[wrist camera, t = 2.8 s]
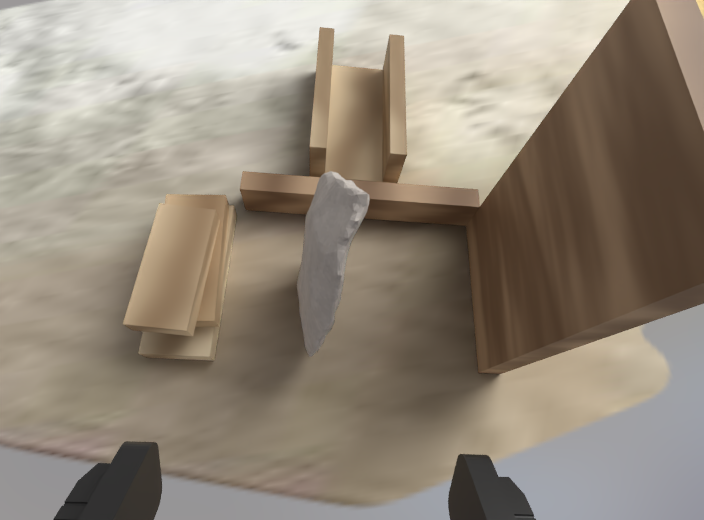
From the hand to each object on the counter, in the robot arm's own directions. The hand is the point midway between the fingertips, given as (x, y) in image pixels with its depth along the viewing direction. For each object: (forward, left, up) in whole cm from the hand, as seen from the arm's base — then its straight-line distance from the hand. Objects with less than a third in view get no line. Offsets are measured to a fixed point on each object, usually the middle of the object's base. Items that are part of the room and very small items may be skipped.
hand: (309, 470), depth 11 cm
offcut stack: (-9, +11, -17) cm, 22 cm away
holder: (+2, +26, -17) cm, 31 cm away
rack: (+3, +12, -17) cm, 21 cm away
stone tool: (0, +10, -17) cm, 20 cm away
